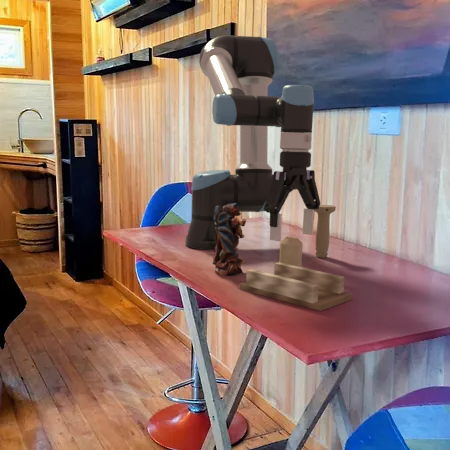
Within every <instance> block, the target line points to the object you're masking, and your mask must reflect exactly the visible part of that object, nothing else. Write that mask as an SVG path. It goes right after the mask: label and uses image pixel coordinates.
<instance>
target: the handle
mask: <svg viewBox="0 0 450 450" xmlns="http://www.w3.org/2000/svg"><path fill="white" fill-rule="evenodd" d="M336 207H337V206H336V205H333V204H332V205H331V204H329V205H328V204H320V206H319V208H318V209H315V212H314V213H317V223H316V231H315V251H316V252H315V256H316V257H317V258H319V257H320V259H321V258H322V259H324V258H328V252H329V248H330V247H329V246H330V233H331V231H330V225H331V224H330V217H331V214H332V213H335V211H336Z"/></svg>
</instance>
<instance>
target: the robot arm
mask: <svg viewBox="0 0 450 450" xmlns="http://www.w3.org/2000/svg"><path fill="white" fill-rule="evenodd" d="M198 61H199V62H198V63H199V67H200V69H201V72H202V74H203V75H204V76H205V77H207V79H208V81H209V83H210V86H211V88H212V91H213V93H214V97H213V100H212V105H211V106H212V108H211V111H212V120H213V123H215V124H216V125H221V126H228V127H230V126H239V137H240V138H239V148H240V149H239V155H240V156H239V165H238V166H236V168H235V171H234V173H235V174H231V171H230V170H229V169H215V170H214V169H213V170H205V171H201V172H198V173H195V174H194V175H193V176H192V180H191V181H192V182H191V188H190V189H191V219H190V220H191V221H190V224H189V227H188V230H187V235H186V236H185V246H186V247H188V248H190V249H191V248H192V249H197V250H207V251H209V250H211V251H213V250H214V251H215V247H216V244H217V243H216V238H215V237H216V232H215V227H216V226H215V221H214V211H215V208H216V207H215V206H220V207H221V210H222V212H223V206H225V205H227V204H229V203H230V204H232V203H237V205H236V207H237V208H238V209H239V210H238V211H239V212H240V213H260V212H262V213H263V212H266V213H267V214H268V213H269V227H270V228H269V230H270V231H269V240H270V241H275V242H281V241H282V219H283V218H282V215H283V214H282V213H280V212H281V210H282V208H283V206H284V205H285V202H286V200H287V198H288V197H289V195H290V193H291V192H293V191H296V190H297V191H298V193H299V196H300V197H301V200H302V202H303V205H305V208H303V217H302V223H303V224H302V235H308V236H313V235H314V225H315V224H314V223H315V222H314V221H315V213H316V212H315V209H318V208H319V206H320V205H321V199H320V195H319V192H318V188H317V187H318V186H317V183H316V177H315V170H313V169H307V168H310V167H311V166H312V165H311V164H312V153H311V152H310V151H311V150H312V138H313V137H312V135H313V134H312V133H313V123H314V122H313V121H314V120H313V119H314V104H315V100H314V99H315V96H314V88H313V86H311V85H306V84H288V85H284V87H282V92H281V96H276V95H273V96H270V95H269V93H268V88H269V85H271V84H272V83H273V78H274V77H276V76H277V75H278V72H279V66H280V54H279V50H278V46H277V44H276V43H275V40H273V39H272V38H269V37H263V36H260V35H259V36H248V35H247V36H245V35H244V36H243V35H230V34H224V35H220V36H217V37H215V38H212V39H211V40H209V41H208V42H207V43H206V44H205V45H204V46H203V47H202V48H201V51H200V53H199V60H198ZM268 127H276V128H280V136H279V137H280V139H279V141H280V142H279V148H280V149H281V150H282V151H280V152H279V166H280V167H281V168H282V170H281V171H279V170H275V171H274V172H273V168H272V167H271V166H270V165H269V162H268V129H269V128H268Z"/></svg>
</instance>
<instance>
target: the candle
mask: <svg viewBox="0 0 450 450" xmlns="http://www.w3.org/2000/svg"><path fill="white" fill-rule="evenodd" d="M279 242H280V243H279V260H278V261H279V262H280V263H285V264H289V265H294V266H298V267H302V264H303V263H302V262H303V261H302V258H303V242H302V241H301V240H300V239H299V238H298V237H295V238H294V237H291V236H290V237H289V236H285V237H284V238H283V239H281V241H279ZM279 262H278V263H279Z"/></svg>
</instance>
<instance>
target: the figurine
mask: <svg viewBox="0 0 450 450" xmlns="http://www.w3.org/2000/svg"><path fill="white" fill-rule="evenodd" d="M236 205H237V203H232V204H230V203H229V204H227V205H225V206H223V212H222V210H221V207H220V206H215V207H216V208H215V211H214V221H215V226H216V227H215V232H216V237H215V238H216V243H217V244H216V247H215V250H214V251H215V253H214V254H215V255H214V257H213V260H212V265H214V266H215V267H214V273H216V274H218V275H220V276H230V277H232V276H233V277H234V276H236V275H240V274H243V273H244V272H243V269H242V267H241V266H242V265H243V264H244V263H245V260H244V259H243V258H240V255H239V254H238V251H237V247H238V246H239V243H240V239H244V238H245V234H243V230H242V227H245V226H246V223H247V219H246V218H240V219H239V218H238V217H240V216H241V214H242V212H239V211H238V210H239V209H238V208H237V207H236Z"/></svg>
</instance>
